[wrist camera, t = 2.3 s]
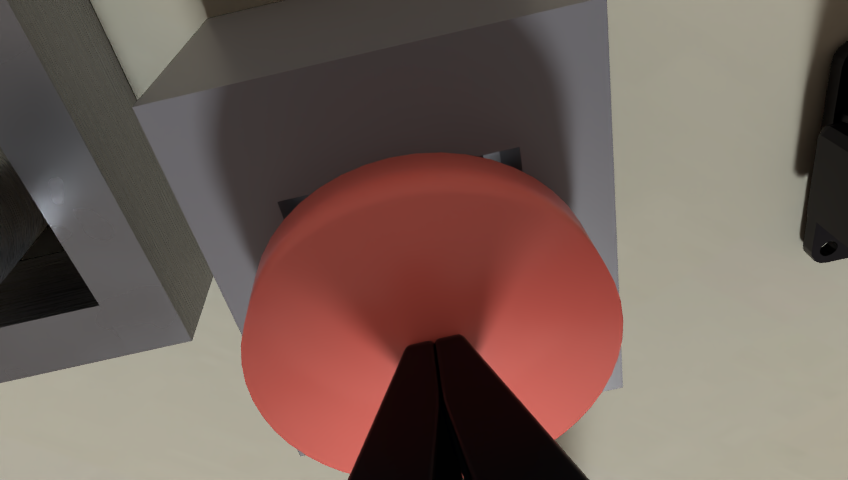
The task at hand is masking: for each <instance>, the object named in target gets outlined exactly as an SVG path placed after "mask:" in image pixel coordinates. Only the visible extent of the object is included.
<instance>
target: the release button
mask: <svg viewBox="0 0 848 480" xmlns="http://www.w3.org/2000/svg"><path fill="white" fill-rule="evenodd" d="M622 333H623V315H622V307H621V301H620V297H619V294H618V291H617V288H616V285H615V282H614V280H613V278H612V276H611V274H610V272H609V270H608V269H607V267H606V265H605V263H604V261H603V260H602V258H601V256H600V255H599V253H598V251H597V250H596V248H595V246H594V245H593V243H592V241H591V240H590V238H589V236H588V234H587V233H586V231H585V229H584V228H583V226H582V224H581V223H580V221H579V220H578V218H577V217H576V216H575V214H574V213H573V212H572V210H571V209H570V208H569V206H568V205H567V204H566V203H565V202H564V201H563V200H562V199H561V198H560V197H559V196H558V195H557V194H555V193H554V192H553V191H552V190H551V189H550V188H548V187H547V186H545V185H544V184H542V183H541V182H540V181H538V180H537V179H535V178H534V177H532V176H530V175H528V174H526V173H524V172H522V171H520V170H518V169H516V168H514V167H511V166H508V165H506V164H503V163H500V162H497V161H494V160H491V159H486V158H484V157H483V155H482V156H472V155H467V154H455V153H442V152H439V153H416V154H409V155H403V156H397V157H391V158H387V159H383V160H380V161H376V162H373V163H370V164H366V165H363V166H361V167H359V168H356V169H354V170H352V171H349V172H347V173H345V174H342V175H340V176H338V177H337V178H335V179H333V180H332V181H330V182H328V183H326V184H325V185H323V186H321V187H320V188H318V189H317V190H316V191H314V192H313V193H312V194H311V195H309V196H308V197H307V198H305V199H304V200H303V201H302V202H300V203H299V204H298V205H297V206H296V207H295V208H294V209H293V211H292V212H291V213H290V214H289V215H288V216H287V217H286V218H285V219H284V220H283V221H282V223H281V224H280V226H279V227H278V228H277V230H276V231H275V232H274V234H273V235H272V237H271V238H270V240H269V242H268V244H267V246H266V248H265V250H264V252H263V254H262V256H261V259H260V263H259V266H258V269H257V272H256V275H255V279H254V284H253V288H252V292H251V297H250V301H249V305H248V310H247V314H246V318H245V323H244V328H243V335H242V342H241V358H242V368H243V373H244V377H245V382H246V385H247V387H248V390H249V392H250V395H251V397H252V400H253V402H254V403H255V405H256V406H257V408H258V410H259V411H260V413H261V415H262V416H263V417H264V419H265V420H266V421H267V422H268V423H269V425H270V426H271V427H272V428H273V429H274V430H275V431H276V432H277V433H278V434H279V435H280V436H281V437H282V438H283V439H284V440H286V441H287V442H288V443H289V444H290V445H292V446H293V447H295V448H296V449H298V450H299V451H301V452H302V453H304V454H305V455H307V456H309V457H311V458H312V459H314V460H316V461H318V462H320V463H322V464H324V465H327V466H329V467H332V468H334V469H337V470H339V471H342V472H346V473H349V474H350V473H351V471H352V469H353V467H354V464H355V462H356V460H357V457H358V455H359V453H360V451H361V448H362V446H363V444H364V441H365V439H366V437H367V435H368V432H369V430H370V428H371V425H372V423H373V421H374V419H375V416H376V414H377V412H378V409H379V407H380V405H381V402H382V400H383V398H384V396H385V393H386V391H387V389H388V386H389V384H390V382H391V380H392V377H393V375H394V373H395V370H396V368H397V366H398V364H399V361H400V359H401V357H402V354H403V352H404V350H405V348H406V347H407V346H408V345H411V344H416V343H420V342H425V341H433V342H434V344H435V342H436V340H437V339H439V338H443V337H448V336H452V335H457V334H460V335H462V336H464V337H465V338H466V339H467V340H468V342H469V343H470V344H471V345H472V346H473V347H474V348H475V350H476V351H477V352H478V353H479V354H480V355H481V356H482V358H483V359H484V360H485V361H486V362H487V363H488V364H489V366H490V367H491V368H492V369H493V370H494V371H495V373H496V374H497V375H498V376H499V377H500V378H501V379H502V381H503V382H504V383H505V384H506V385H507V386H508V387H509V389H510V390H511V391H512V392H513V393H514V394H515V395H516V397H517V398H518V399H519V400H520V401H521V402H522V403H523V405H524V406H525V407H526V408H527V409H528V410H529V411H530V413H531V414H532V415H533V416H534V417H535V418H536V419H537V421H538V422H539V423H540V424H541V425H542V426H543V427H544V429H545V430H546V431H547V432H548V433H549V434H550V435H551V437H552V438H553V439H554V440H555V439H556V438H558V437H559V436H561V435H562V434H563V433H564V432H566V431H567V430H568V429H569V428H570V427H571V426H573V425H574V424H575V423H576V422H577V421H578V420H579V419H580V418H581V417H582V416H583V415H584V414H585V413H586V412H587V411H588V410H589V409H590V407H591V406H592V405H593V403H594V402H595V401H596V399H597V398H598V397H599V395H600V394H601V393H602V391H603V389H604V388H605V386H606V384H607V382H608V380H609V379H610V377H611V375H612V372H613V370H614V367H615V365H616V362H617V359H618V356H619V352H620V347H621V342H622Z"/></svg>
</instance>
